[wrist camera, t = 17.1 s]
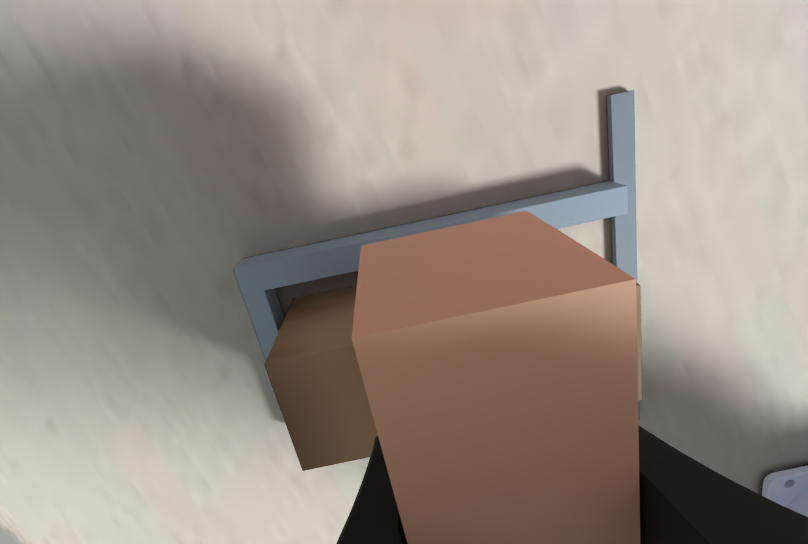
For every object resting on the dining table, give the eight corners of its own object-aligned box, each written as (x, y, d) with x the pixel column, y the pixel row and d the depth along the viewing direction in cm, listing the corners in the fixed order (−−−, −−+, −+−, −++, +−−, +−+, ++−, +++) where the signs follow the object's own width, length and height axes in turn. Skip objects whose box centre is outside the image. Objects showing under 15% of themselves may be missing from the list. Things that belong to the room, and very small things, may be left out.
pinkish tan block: (526, 210, 10) (635, 279, 6) (558, 518, 14) (642, 702, 9) (360, 245, 10) (351, 338, 6) (433, 543, 14) (460, 739, 9)
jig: (629, 90, 15) (649, 88, 14) (635, 415, 20) (651, 432, 19) (215, 179, 15) (202, 184, 14) (319, 480, 20) (316, 502, 19)
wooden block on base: (567, 238, 17) (640, 284, 12) (574, 328, 19) (642, 399, 14) (294, 296, 17) (264, 364, 13) (320, 381, 19) (302, 470, 14)
